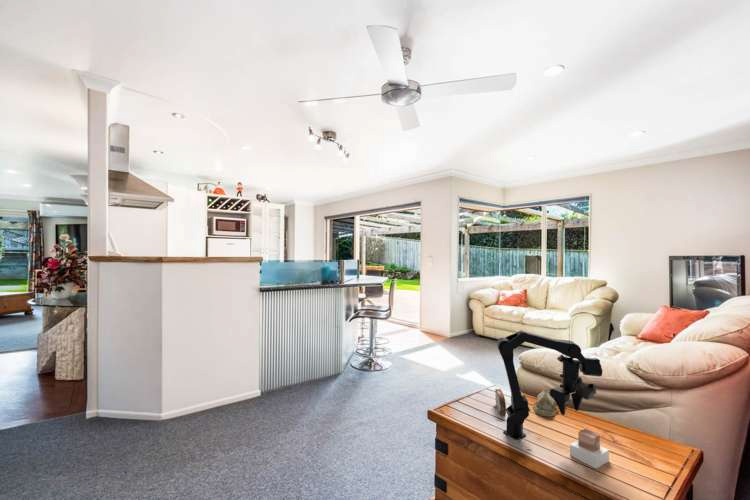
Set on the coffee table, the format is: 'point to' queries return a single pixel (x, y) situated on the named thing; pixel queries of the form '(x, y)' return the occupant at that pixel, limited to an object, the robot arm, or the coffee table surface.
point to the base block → (589, 455)
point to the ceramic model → (545, 404)
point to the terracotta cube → (589, 440)
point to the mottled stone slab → (500, 401)
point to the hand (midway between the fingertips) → (569, 412)
